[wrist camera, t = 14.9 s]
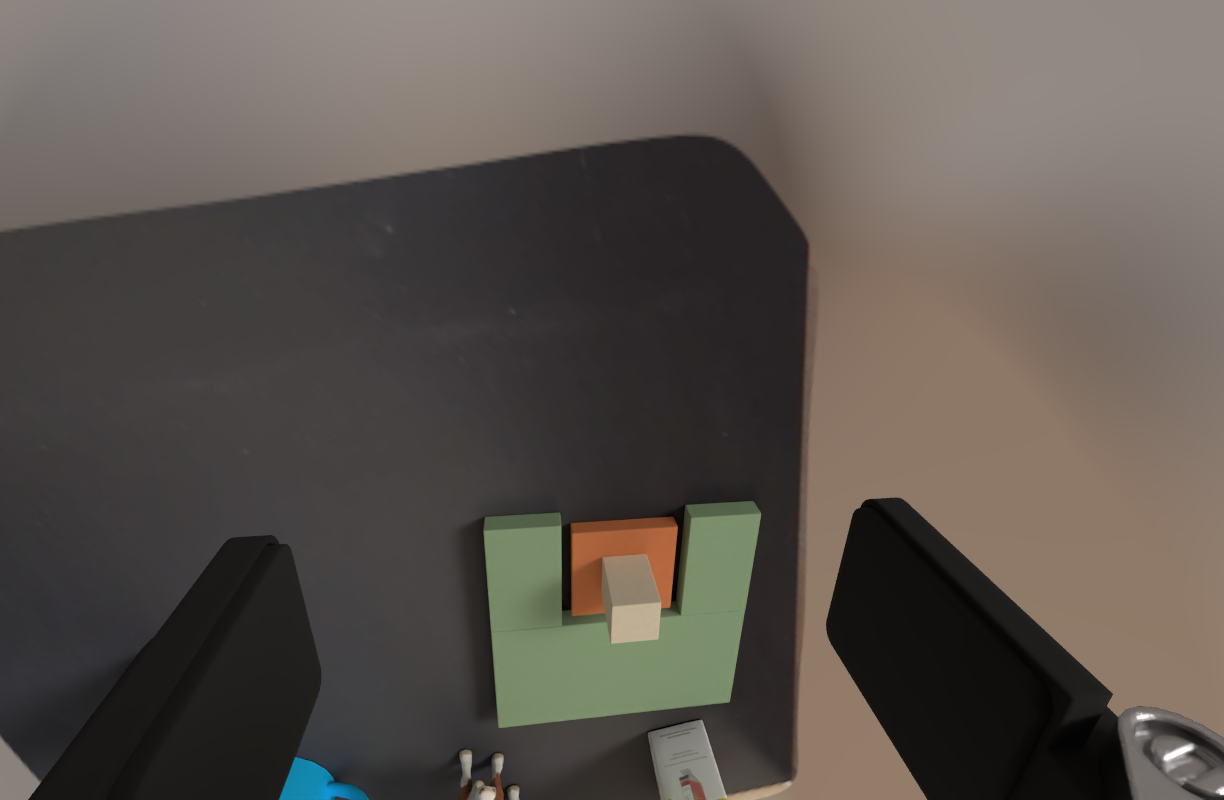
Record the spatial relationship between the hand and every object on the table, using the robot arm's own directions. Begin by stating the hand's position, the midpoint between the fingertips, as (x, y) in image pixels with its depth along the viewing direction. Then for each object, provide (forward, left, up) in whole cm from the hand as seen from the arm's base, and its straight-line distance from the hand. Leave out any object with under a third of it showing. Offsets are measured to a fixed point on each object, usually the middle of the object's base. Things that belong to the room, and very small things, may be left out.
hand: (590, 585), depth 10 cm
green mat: (-5, +24, -23) cm, 34 cm away
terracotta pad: (-5, +19, -23) cm, 31 cm away
